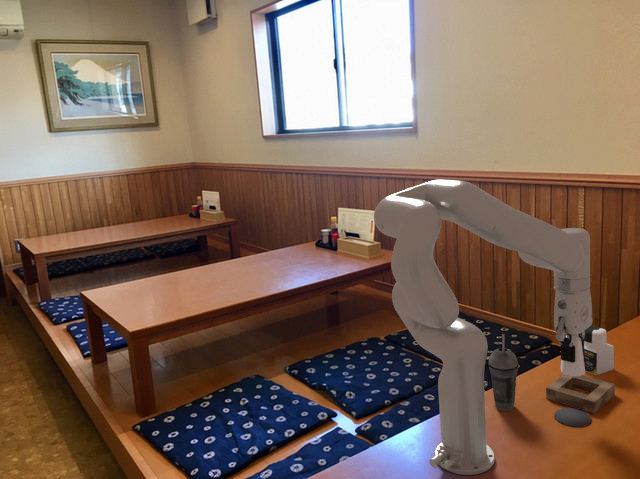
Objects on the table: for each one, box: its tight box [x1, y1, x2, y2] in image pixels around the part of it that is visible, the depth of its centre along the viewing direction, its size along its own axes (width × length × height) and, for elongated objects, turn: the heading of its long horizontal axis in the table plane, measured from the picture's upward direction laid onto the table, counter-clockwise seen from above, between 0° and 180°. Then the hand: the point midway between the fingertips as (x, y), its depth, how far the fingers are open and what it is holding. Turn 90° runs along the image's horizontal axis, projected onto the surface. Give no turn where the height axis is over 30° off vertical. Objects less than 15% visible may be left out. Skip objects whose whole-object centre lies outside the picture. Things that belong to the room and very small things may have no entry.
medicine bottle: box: [583, 325, 615, 376], centre depth 154 cm, size 7×7×12 cm
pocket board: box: [545, 374, 616, 414], centre depth 140 cm, size 12×12×3 cm
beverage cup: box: [487, 333, 520, 412], centre depth 137 cm, size 7×7×20 cm
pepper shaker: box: [560, 330, 586, 376], centre depth 128 cm, size 5×5×11 cm
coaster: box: [554, 407, 592, 428], centre depth 131 cm, size 8×8×1 cm
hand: (572, 356), depth 128 cm, fingers closed on pepper shaker, 3 cm apart
